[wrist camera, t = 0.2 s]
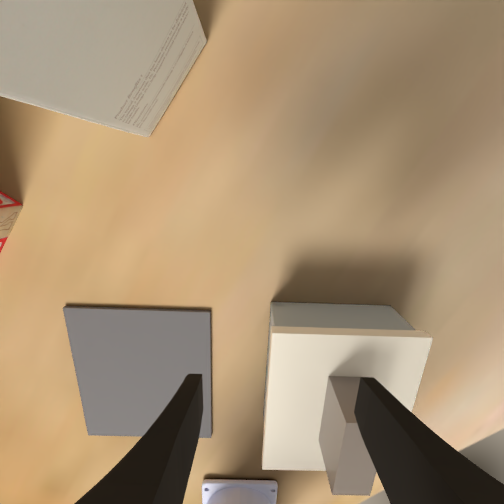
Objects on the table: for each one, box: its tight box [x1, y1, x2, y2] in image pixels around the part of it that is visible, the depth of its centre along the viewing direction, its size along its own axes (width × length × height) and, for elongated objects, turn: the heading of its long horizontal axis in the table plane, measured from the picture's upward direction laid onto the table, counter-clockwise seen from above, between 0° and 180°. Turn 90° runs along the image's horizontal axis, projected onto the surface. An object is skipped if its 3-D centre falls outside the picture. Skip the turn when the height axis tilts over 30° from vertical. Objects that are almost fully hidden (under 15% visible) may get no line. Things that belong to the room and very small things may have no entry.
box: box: [263, 302, 415, 421], centre depth 22 cm, size 12×10×4 cm
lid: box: [262, 326, 433, 496], centre depth 18 cm, size 13×11×5 cm
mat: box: [63, 306, 212, 438], centre depth 24 cm, size 14×12×1 cm
